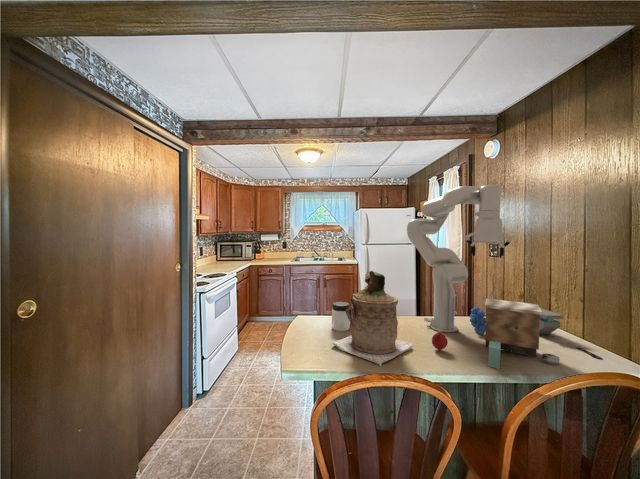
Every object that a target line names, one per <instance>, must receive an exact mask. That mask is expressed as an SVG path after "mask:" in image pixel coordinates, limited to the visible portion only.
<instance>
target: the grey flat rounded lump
mask: <svg viewBox="0 0 640 479" xmlns="http://www.w3.org/2000/svg"><path fill="white" fill-rule="evenodd" d="M560 358H561V357H559V356H557V355H556V354H551V353H542V354H541V361H542V362H543V363H544V364H545V365H549V366H560V360H561V359H560Z"/></svg>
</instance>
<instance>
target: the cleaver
mask: <svg viewBox="0 0 640 479" xmlns="http://www.w3.org/2000/svg"><path fill="white" fill-rule="evenodd" d="M559 347H562V348H565V349H566V348H567V349H577V350H578V351H581V352H583V353H584V354H587V355H589V356H590V357H591V358H593V359H596V360H601V361H602V360H604V358H603V357H601V356H599V355H597V354H595V353H592V352H590V351H589V350H587V349H584V348H582V347H579V346H577V345H576V344H573V343H572V342H569V341H568V342H566V343H563V344H560V345H559Z"/></svg>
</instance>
